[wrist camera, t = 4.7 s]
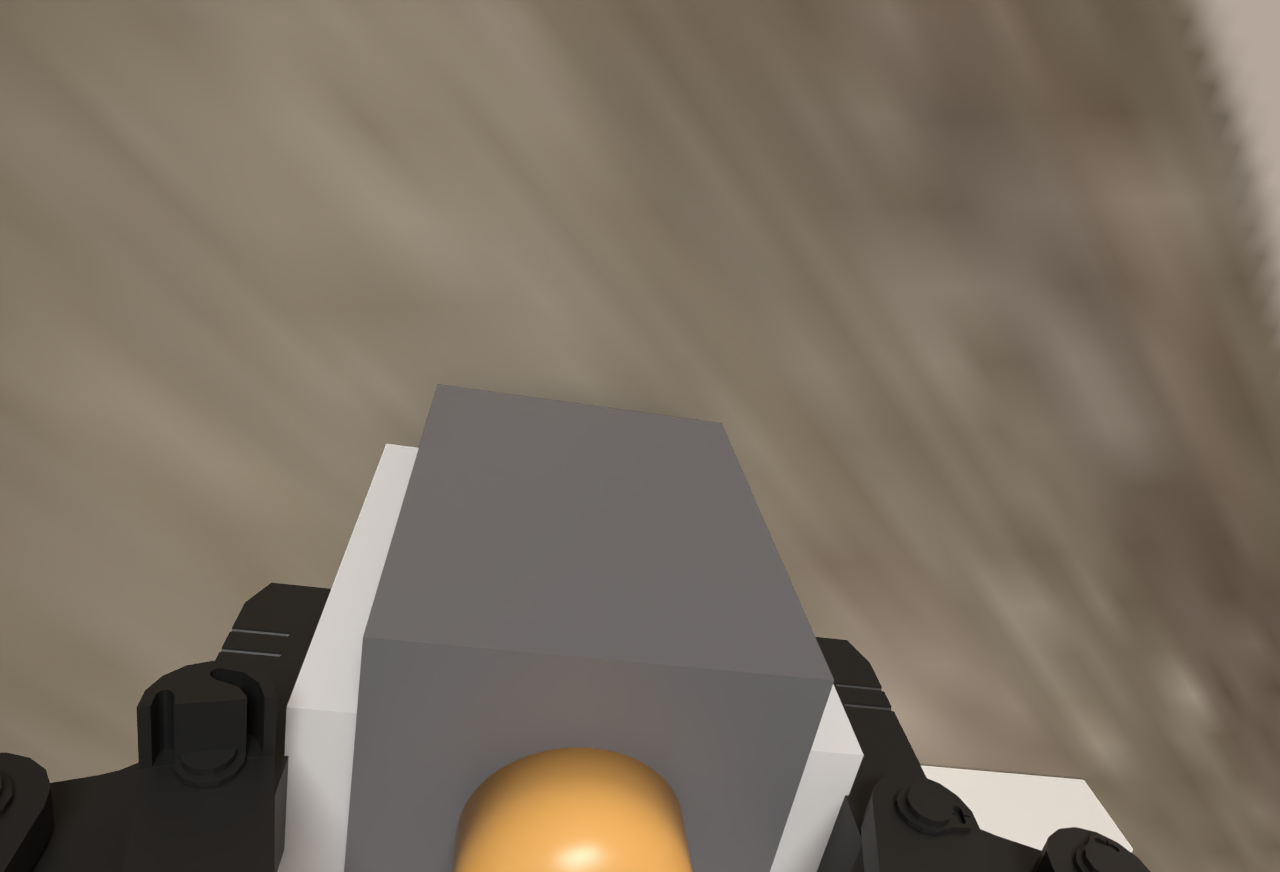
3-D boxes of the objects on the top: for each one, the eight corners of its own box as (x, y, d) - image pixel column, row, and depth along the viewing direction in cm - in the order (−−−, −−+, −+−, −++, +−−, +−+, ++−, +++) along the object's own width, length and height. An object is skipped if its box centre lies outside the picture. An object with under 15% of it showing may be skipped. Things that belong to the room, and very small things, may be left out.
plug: (437, 384, 15) (331, 744, 8) (721, 423, 16) (880, 784, 9) (411, 625, 17) (307, 1105, 10) (666, 649, 18) (755, 1109, 11)
